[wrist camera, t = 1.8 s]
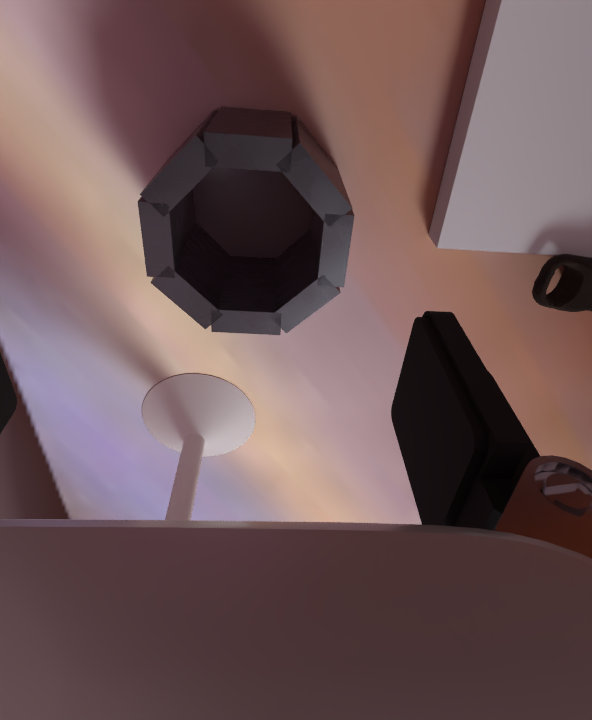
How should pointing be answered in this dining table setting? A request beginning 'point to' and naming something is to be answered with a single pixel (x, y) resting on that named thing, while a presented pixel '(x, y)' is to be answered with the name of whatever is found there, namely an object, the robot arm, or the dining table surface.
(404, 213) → the dining table surface
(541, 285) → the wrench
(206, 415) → the champagne flute
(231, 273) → the steel ring
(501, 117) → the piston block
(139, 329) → the dining table surface
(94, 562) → the robot arm
